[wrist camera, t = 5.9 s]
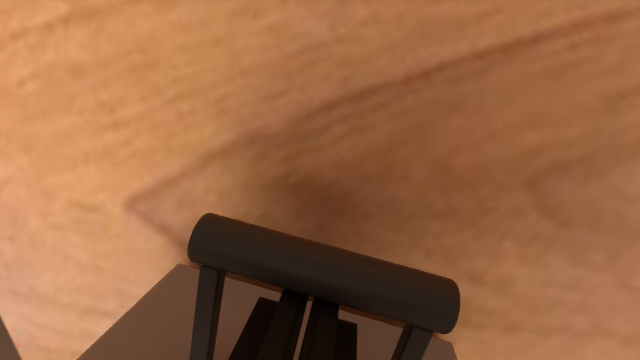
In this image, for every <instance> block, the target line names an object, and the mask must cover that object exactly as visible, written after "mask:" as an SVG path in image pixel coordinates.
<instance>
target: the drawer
mask: <svg viewBox="0 0 640 360" xmlns="http://www.w3.org/2000/svg"><path fill="white" fill-rule="evenodd" d="M188 258H189V260H191V261H192V262H194V263H197V264H201V265H200V269H196V268H193V267H189V266H186V265H182V264H177V265H176V266H175V267H174V268H173V269H172V270H171V271H170V272H169V273H168V274H167V275H166V276H164V277H163V278H162V279H161V280H160V281H159V282H158V283H157V284H156V285H155V286H154V287H153V288H152V289H151V290H150V291H149V292H148V293H147V294H145V295H144V296H143V297H142V298H141V299H140V300H139V301H138V302H137V303H136V304H135V305H134V306H133V307H132V308H131V309H130V310H129V311H128V312H126V313H125V314H124V315H123V316H122V317H121V318H120V319H119V320H118V321H117V322H116V323H115V324H114V325H113V326H112V327H111V328H110V329H109V330H107V331H106V332H105V333H104V334H103V335H102V336H101V337H100V338H99V339H98V340H97V341H96V342H95V343H94V344H93V345H92V346H91V347H90V348H88V349H87V350H86V351H85V352H84V353H83V354H82V355H81V356H80V357H79V358H78V359H77V360H228V359H229V357H230V355H231V353H232V351H233V349H234V347H235V345H236V343H237V341H238V338H239V336H240V334H241V332H242V330H243V328H244V326H245V324H246V322H247V320H248V318H249V316H250V314H251V312H252V310H253V308H254V306H255V304H256V302H257V300H258V299H259V297H264V298H267V299H271V300H275V301H278V302H279V300H280V297H281V295H282V293H279V292H276V291H272V290H269V289H265V288H262V287H259V286H255V285H252V284H248V283H245V282H241V281H238V280H234V279H231V278H227V277H225V275H226V272H229V273H232V274H236V275H239V276H243V277H246V278H249V279H253V280H256V281H260V282H263V283H267V284H270V285H274V286H277V287H281V288H284V289H288V290H291V291H295V292H298V293H302V294H305V295H309V296H312V297H316V298H319V299H322V300H326V301H329V302H333V303H336V304H340V305H343V306H347V307H350V308H354V309H357V310H361V311H364V312H368V313H371V314H375V315H378V316H382V317H385V318H389V319H392V320H395V321H399V322H402V323H405V326H404V328H400V327H397V326H394V325H390V324H387V323H383V322H380V321H376V320H373V319H369V318H366V317H362V316H359V315H355V314H352V313H349V312H345V311H342V310H339V313H338V318H339V319H342V320H346V321H349V322H353V323H357V360H457V357H456V354H455V351H454V348H453V345H452V343H451V342H449V341H445V340H442V339H439V338H435V337H432V336H433V331H434V332H437V333H441V334H448V333H450V332H451V331H452V330H453V328H454V327H455V325H456V322H457V319H458V316H459V310H460V293H459V289H458V286H457V284H456V283H455V282H454V281H453V280H452V279H449V278H446V277H442V276H438V275H435V274H431V273H427V272H424V271H420V270H417V269H413V268H409V267H406V266H402V265H398V264H395V263H391V262H387V261H384V260H380V259H377V258H373V257H369V256H366V255H362V254H358V253H355V252H351V251H348V250H344V249H340V248H337V247H333V246H329V245H326V244H322V243H319V242H315V241H311V240H308V239H304V238H300V237H297V236H293V235H289V234H286V233H282V232H279V231H275V230H271V229H268V228H264V227H260V226H257V225H253V224H250V223H246V222H242V221H239V220H235V219H231V218H228V217H224V216H220V215H217V214H213V213H207V214H205V215H203V216H202V217H201V218H200V219H199V221H198V222H197V224H196V225H195V227H194V229H193V231H192V234H191V237H190V240H189V244H188ZM311 306H312V302H310V301H308V302H307V306H306V310H305V314H304V318H303V322H302V326H301V330H300V334H299V338H298V342H297V346H296V350H295V354H294V357H293V360H298V358H299V354H300V350H301V346H302V341H303V337H304V334H305V330H306V326H307V322H308V318H309V314H310V310H311Z"/></svg>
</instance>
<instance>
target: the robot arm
mask: <svg viewBox="0 0 640 360" xmlns="http://www.w3.org/2000/svg"><path fill="white" fill-rule="evenodd" d="M308 298H309V295H305V294H302V293H298V292H295V291H291V290H288V289H283V292H282V295H281V297H280V300H279V302H278V301H275V300H271V299H267V298H264V297H259V299H258V300H257V302H256V304H255V306H254V308H253V310H252V312H251V314H250V316H249V318H248V320H247V322H246V324H245V326H244V328H243V330H242V332H241V334H240V336H239V338H238V341H237V343H236V345H235V347H234V349H233V351H232V353H231V355H230V357H229V359H228V360H293V357H294V354H295V350H296V346H297V342H298V338H299V334H300V330H301V326H302V322H303V318H304V314H305V310H306V306H307V302H308ZM338 313H339V304H336V303H333V302H329V301H326V300H322V299H319V298H316V297H314V298H313V302H312V306H311V310H310V314H309V318H308V322H307V326H306V330H305V334H304V337H303V341H302V346H301V350H300V354H299V358H298V360H357V323H353V322H349V321H346V320H342V319H339V318H338Z"/></svg>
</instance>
